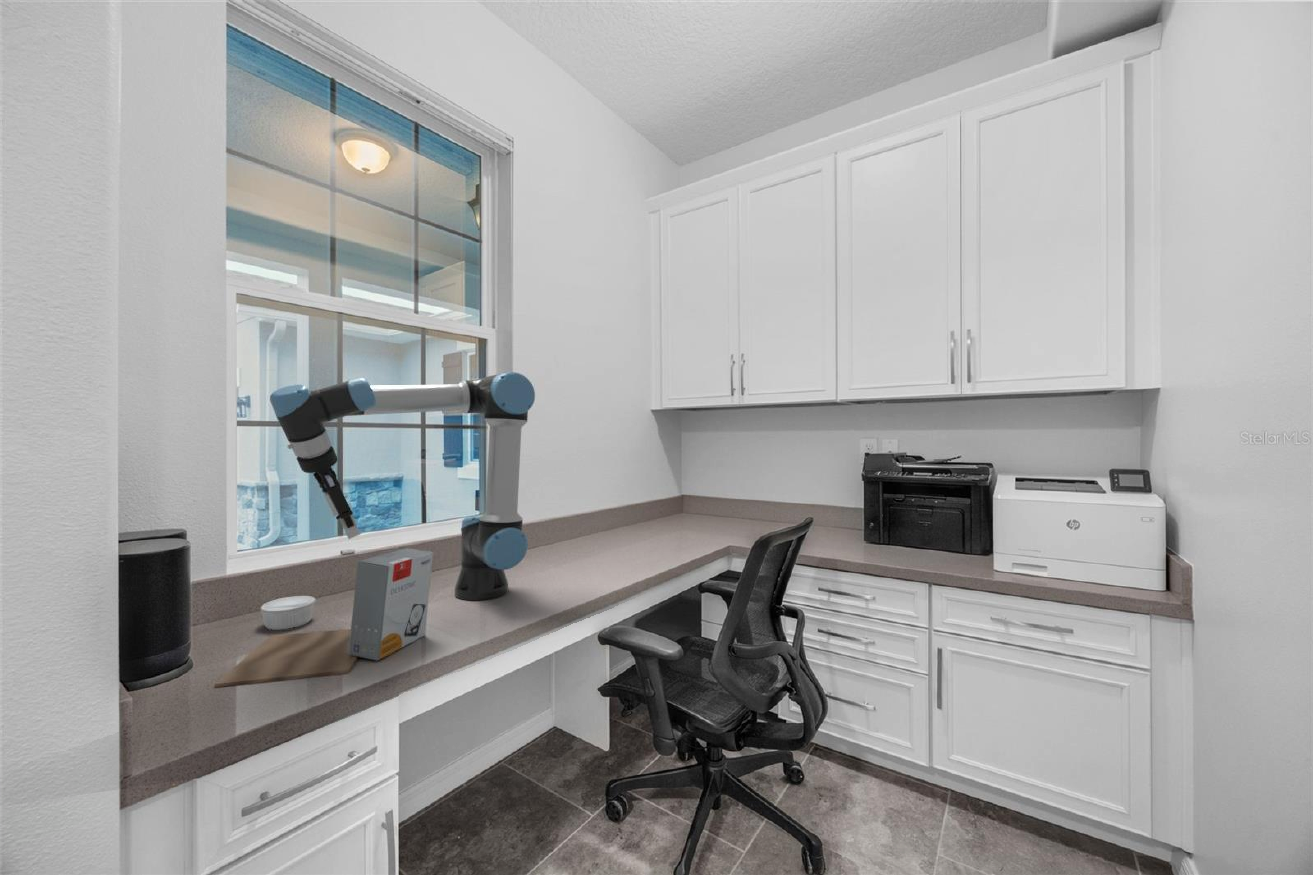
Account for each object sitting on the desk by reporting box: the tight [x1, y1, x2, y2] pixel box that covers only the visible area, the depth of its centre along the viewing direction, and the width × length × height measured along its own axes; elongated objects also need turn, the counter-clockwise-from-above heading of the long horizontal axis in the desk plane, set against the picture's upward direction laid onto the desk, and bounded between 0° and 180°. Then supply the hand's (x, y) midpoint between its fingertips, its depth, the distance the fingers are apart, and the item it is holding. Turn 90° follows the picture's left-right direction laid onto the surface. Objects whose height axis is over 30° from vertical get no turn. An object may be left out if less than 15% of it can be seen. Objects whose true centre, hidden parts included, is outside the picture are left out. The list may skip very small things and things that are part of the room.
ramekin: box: [260, 595, 316, 631], centre depth 129 cm, size 11×11×5 cm
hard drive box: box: [348, 547, 434, 661], centre depth 115 cm, size 16×8×20 cm, turn 168°
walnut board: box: [214, 628, 360, 688], centre depth 111 cm, size 22×24×1 cm
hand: (346, 524), depth 130 cm, fingers open, 13 cm apart
